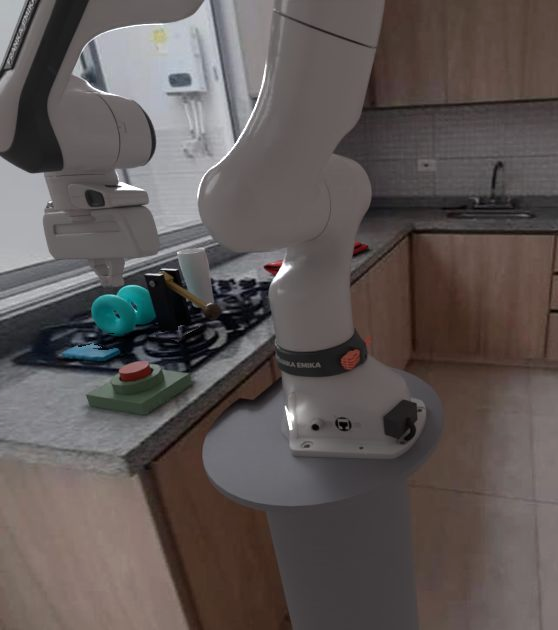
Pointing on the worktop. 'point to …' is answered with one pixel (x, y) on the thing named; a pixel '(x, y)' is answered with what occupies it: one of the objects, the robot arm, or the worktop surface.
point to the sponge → (90, 353)
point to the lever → (193, 298)
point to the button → (135, 371)
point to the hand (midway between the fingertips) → (113, 286)
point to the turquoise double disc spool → (123, 310)
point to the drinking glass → (196, 273)
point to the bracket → (168, 305)
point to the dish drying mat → (276, 265)
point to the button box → (140, 391)
